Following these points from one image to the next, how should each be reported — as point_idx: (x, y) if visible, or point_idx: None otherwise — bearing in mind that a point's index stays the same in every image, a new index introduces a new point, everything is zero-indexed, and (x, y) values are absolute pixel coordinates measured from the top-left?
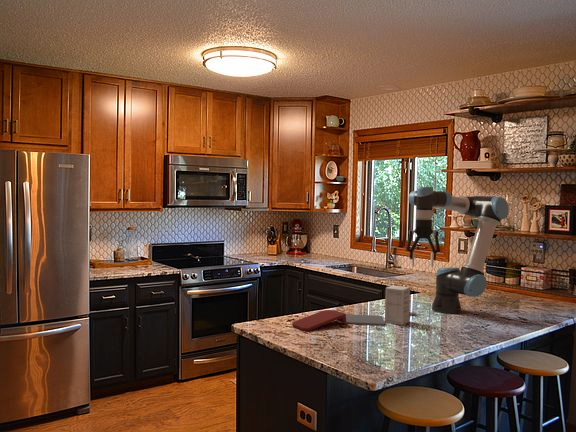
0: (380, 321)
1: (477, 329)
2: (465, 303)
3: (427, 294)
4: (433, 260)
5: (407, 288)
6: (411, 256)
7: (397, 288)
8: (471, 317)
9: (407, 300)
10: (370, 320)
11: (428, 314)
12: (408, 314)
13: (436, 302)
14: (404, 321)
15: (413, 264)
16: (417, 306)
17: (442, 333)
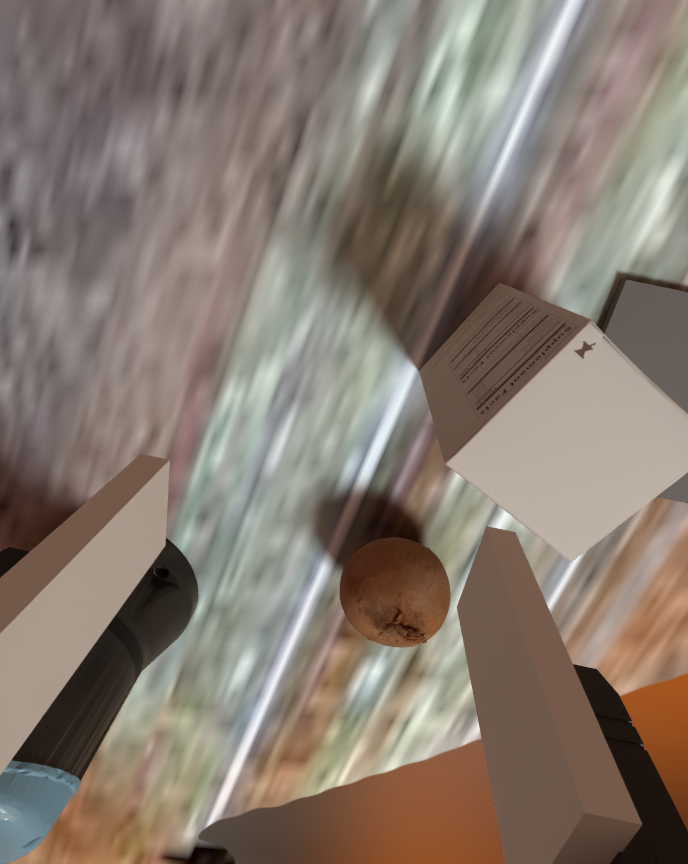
0: (627, 341)
1: (57, 166)
2: None
3: (138, 826)
4: (63, 522)
5: (497, 412)
6: (602, 729)
7: (617, 401)
8: (31, 444)
9: (476, 369)
10: (680, 368)
11: (247, 515)
12: (439, 362)
13: (166, 603)
14: (486, 301)
15: (505, 553)
16: (251, 659)
17: (318, 52)
